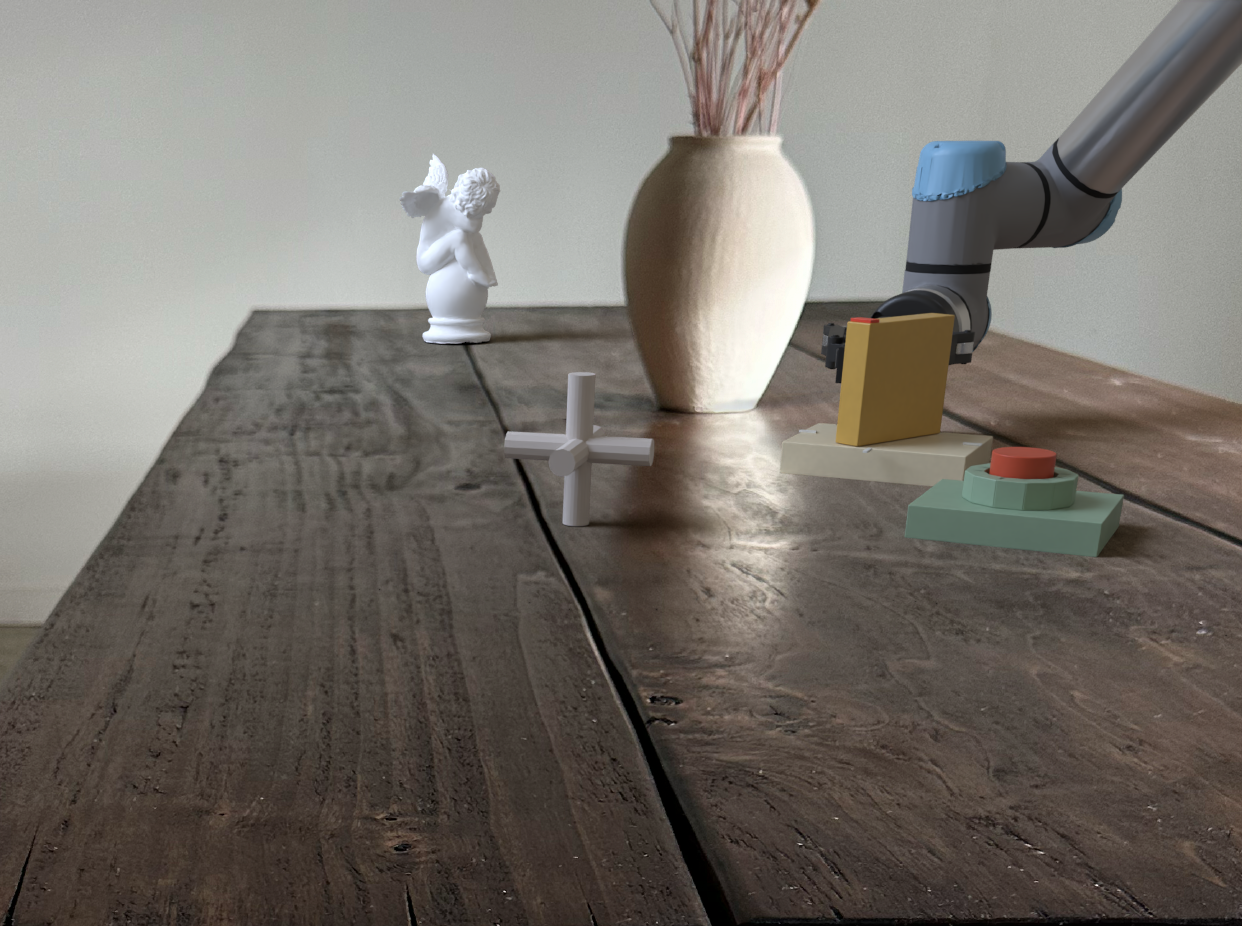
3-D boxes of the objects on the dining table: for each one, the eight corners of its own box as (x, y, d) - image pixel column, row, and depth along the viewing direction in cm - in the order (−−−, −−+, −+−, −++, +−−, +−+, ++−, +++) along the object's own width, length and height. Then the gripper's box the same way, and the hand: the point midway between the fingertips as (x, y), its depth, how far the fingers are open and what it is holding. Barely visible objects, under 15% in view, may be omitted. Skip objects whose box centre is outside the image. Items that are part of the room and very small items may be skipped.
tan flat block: (917, 429, 136) (932, 309, 132) (940, 433, 134) (955, 311, 130) (834, 442, 130) (847, 317, 127) (857, 446, 129) (870, 320, 125)
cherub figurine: (508, 343, 212) (513, 153, 203) (424, 349, 206) (425, 155, 197) (456, 334, 222) (458, 152, 213) (375, 340, 216) (373, 154, 207)
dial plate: (995, 463, 136) (1000, 430, 135) (957, 495, 124) (962, 458, 123) (820, 449, 142) (824, 417, 141) (769, 478, 131) (772, 443, 130)
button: (1057, 476, 112) (1061, 449, 112) (1047, 486, 109) (1051, 459, 108) (995, 471, 114) (998, 444, 113) (983, 481, 111) (986, 454, 110)
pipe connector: (633, 544, 111) (641, 387, 107) (486, 533, 114) (489, 380, 110) (660, 513, 119) (669, 367, 115) (523, 504, 122) (527, 362, 118)
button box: (1118, 527, 114) (1128, 467, 113) (1096, 557, 106) (1107, 494, 105) (938, 509, 120) (945, 452, 118) (904, 537, 112) (911, 477, 110)
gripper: (987, 382, 148) (926, 421, 129) (838, 373, 153) (760, 409, 135) (999, 292, 145) (939, 318, 126) (847, 286, 150) (768, 311, 131)
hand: (846, 365), depth 130 cm, fingers closed
